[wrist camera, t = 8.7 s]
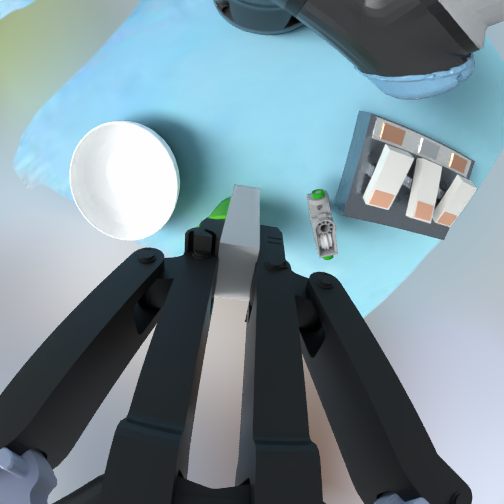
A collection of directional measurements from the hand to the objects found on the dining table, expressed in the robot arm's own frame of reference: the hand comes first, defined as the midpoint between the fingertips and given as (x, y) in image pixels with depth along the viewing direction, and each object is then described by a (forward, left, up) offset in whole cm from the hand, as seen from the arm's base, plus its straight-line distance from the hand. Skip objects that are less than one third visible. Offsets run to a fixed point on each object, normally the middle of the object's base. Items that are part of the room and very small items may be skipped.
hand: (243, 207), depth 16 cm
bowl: (+8, -19, -27) cm, 34 cm away
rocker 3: (0, +33, -19) cm, 38 cm away
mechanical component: (+9, +11, -27) cm, 30 cm away
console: (0, +26, -26) cm, 37 cm away
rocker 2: (0, +26, -19) cm, 32 cm away
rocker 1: (0, +19, -19) cm, 27 cm away
